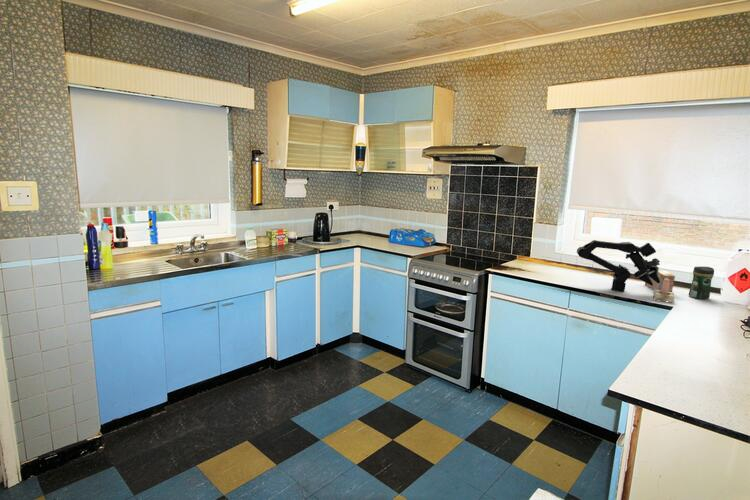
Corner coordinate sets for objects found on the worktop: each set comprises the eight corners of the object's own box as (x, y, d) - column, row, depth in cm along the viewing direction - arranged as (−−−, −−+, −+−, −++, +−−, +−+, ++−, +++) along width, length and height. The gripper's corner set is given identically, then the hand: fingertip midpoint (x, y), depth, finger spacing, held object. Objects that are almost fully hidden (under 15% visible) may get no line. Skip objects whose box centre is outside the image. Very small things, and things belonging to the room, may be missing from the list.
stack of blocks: (644, 284, 273) (647, 266, 271) (655, 285, 272) (658, 266, 270) (660, 294, 253) (663, 274, 250) (671, 295, 252) (675, 275, 249)
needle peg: (659, 299, 242) (663, 278, 240) (659, 298, 245) (663, 277, 242) (666, 300, 241) (670, 279, 238) (665, 299, 243) (669, 278, 241)
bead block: (653, 300, 241) (655, 293, 240) (653, 296, 249) (654, 289, 248) (673, 303, 237) (674, 296, 236) (672, 299, 244) (673, 292, 243)
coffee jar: (700, 295, 254) (706, 265, 250) (711, 299, 246) (718, 268, 242) (685, 295, 253) (691, 264, 249) (695, 299, 245) (702, 268, 241)
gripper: (643, 255, 240) (661, 279, 234) (658, 252, 251) (675, 275, 244) (626, 265, 248) (643, 289, 242) (641, 262, 259) (658, 284, 252)
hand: (655, 284), depth 245 cm, fingers open, 9 cm apart
